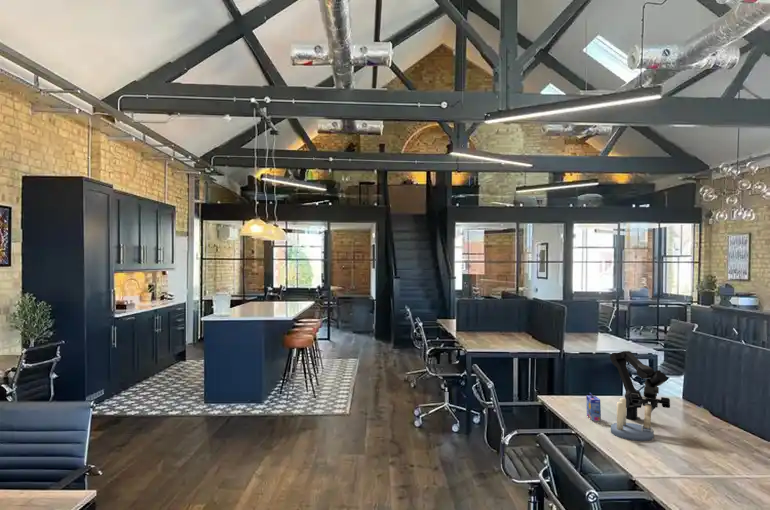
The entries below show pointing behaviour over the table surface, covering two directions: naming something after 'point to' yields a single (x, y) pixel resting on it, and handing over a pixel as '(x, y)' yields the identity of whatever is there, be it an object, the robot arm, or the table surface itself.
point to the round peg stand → (629, 426)
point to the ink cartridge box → (593, 408)
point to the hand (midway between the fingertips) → (648, 414)
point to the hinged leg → (647, 417)
